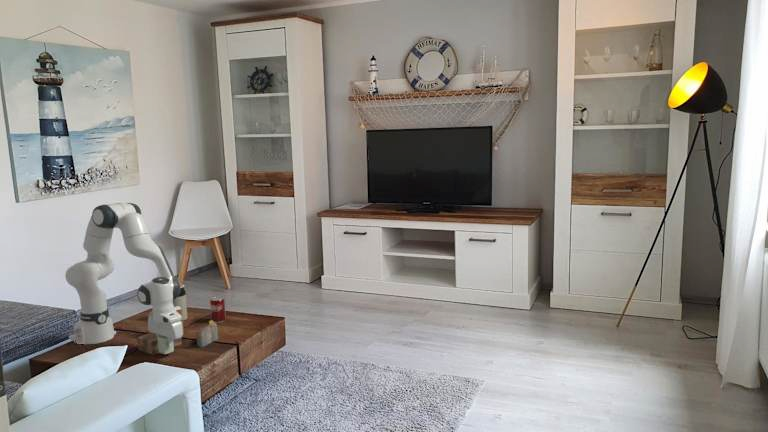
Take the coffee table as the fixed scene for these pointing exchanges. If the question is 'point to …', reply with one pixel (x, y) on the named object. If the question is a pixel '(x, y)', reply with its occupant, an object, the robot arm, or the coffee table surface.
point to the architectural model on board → (207, 334)
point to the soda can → (218, 309)
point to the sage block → (164, 345)
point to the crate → (152, 343)
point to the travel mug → (181, 302)
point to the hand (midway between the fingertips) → (165, 344)
